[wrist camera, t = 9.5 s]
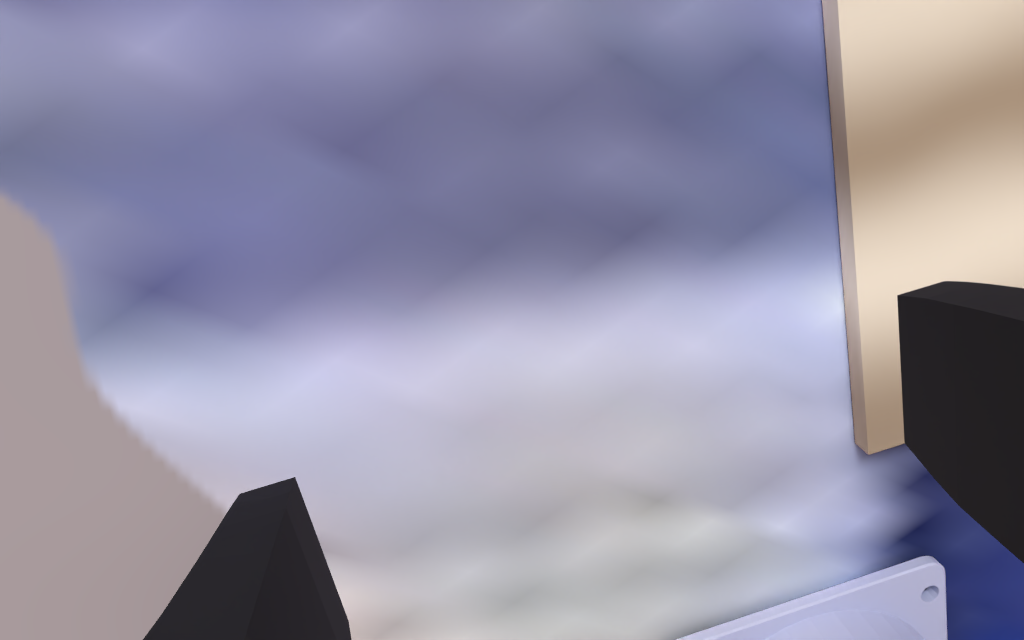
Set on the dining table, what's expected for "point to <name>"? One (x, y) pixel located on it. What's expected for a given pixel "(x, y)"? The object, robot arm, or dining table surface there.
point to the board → (921, 170)
